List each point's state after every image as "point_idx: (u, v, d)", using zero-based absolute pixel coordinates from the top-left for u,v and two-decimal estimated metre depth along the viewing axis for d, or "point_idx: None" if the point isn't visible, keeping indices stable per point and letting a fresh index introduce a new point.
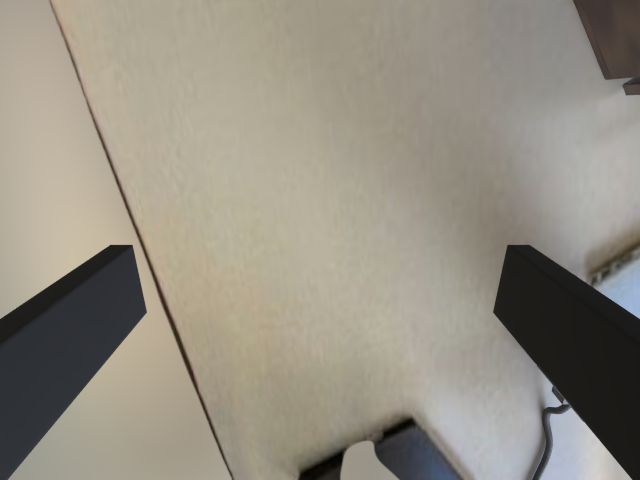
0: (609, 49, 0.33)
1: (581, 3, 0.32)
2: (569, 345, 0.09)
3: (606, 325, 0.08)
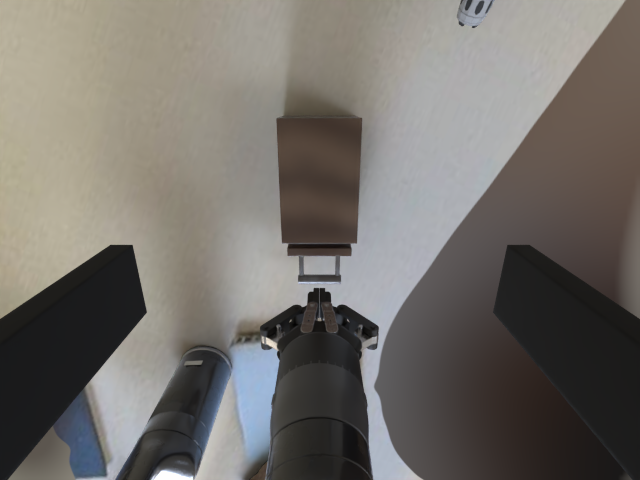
0: None
1: None
2: (569, 345, 0.09)
3: (606, 325, 0.08)
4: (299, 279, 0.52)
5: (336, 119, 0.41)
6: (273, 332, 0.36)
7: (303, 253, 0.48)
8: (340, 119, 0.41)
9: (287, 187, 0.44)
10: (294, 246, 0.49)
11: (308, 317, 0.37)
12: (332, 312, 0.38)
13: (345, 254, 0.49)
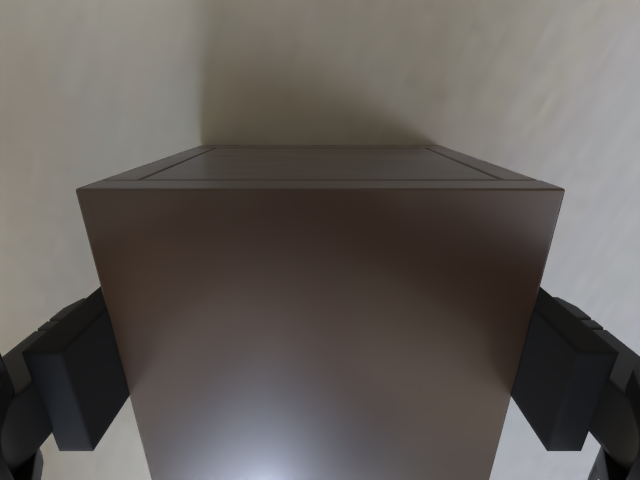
0: None
1: None
2: None
3: None
4: None
5: (417, 195, 0.07)
6: None
7: None
8: (440, 195, 0.07)
9: (181, 468, 0.10)
10: None
11: None
12: None
13: None
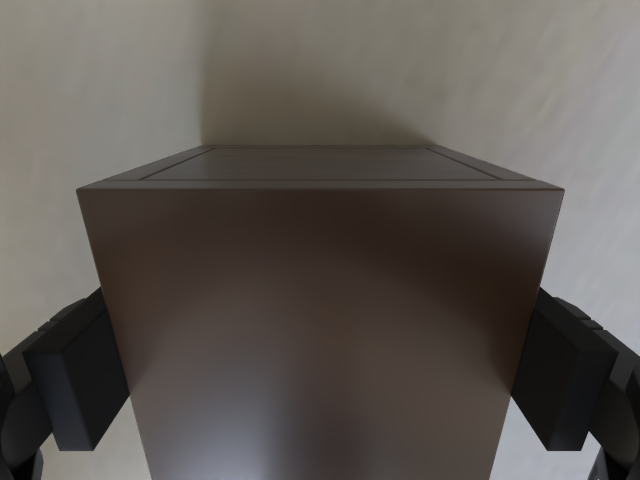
0: None
1: None
2: None
3: None
4: None
5: (417, 195, 0.07)
6: None
7: None
8: (440, 195, 0.07)
9: (181, 468, 0.10)
10: None
11: None
12: None
13: None
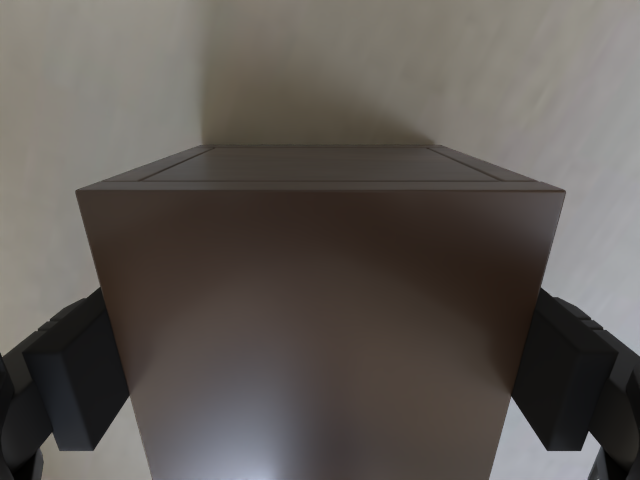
0: None
1: None
2: None
3: None
4: None
5: (418, 196, 0.07)
6: None
7: None
8: (441, 196, 0.07)
9: (182, 468, 0.10)
10: None
11: None
12: None
13: None
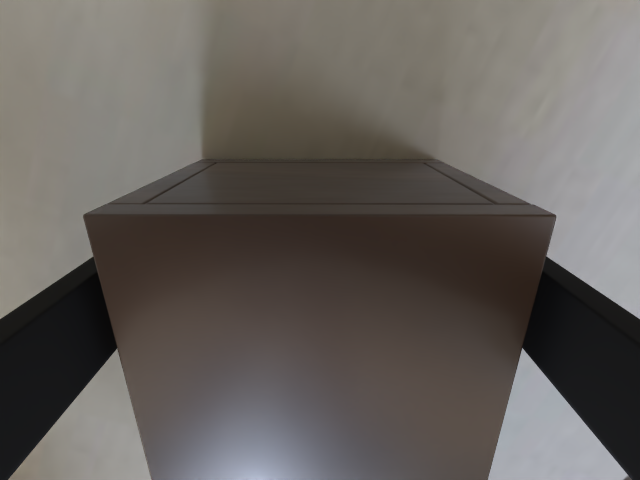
0: None
1: None
2: (569, 345, 0.09)
3: (605, 325, 0.08)
4: None
5: (414, 221, 0.07)
6: None
7: None
8: (436, 221, 0.07)
9: None
10: None
11: None
12: None
13: None
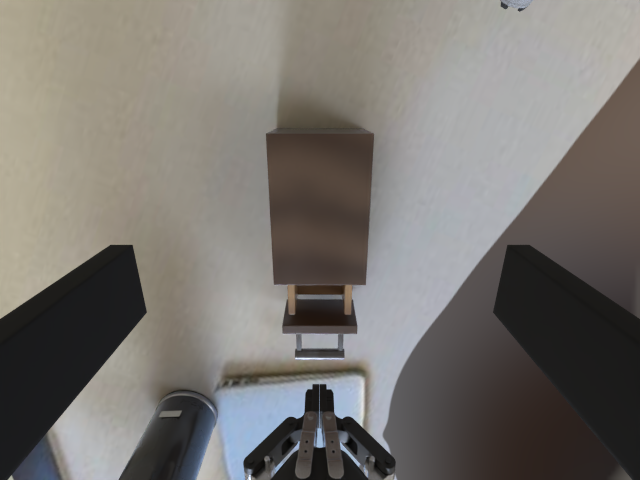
0: None
1: None
2: (569, 345, 0.09)
3: (606, 325, 0.08)
4: (296, 355, 0.45)
5: (341, 135, 0.33)
6: (260, 467, 0.28)
7: (301, 331, 0.42)
8: (346, 135, 0.33)
9: (280, 218, 0.35)
10: (290, 321, 0.42)
11: (305, 445, 0.29)
12: (336, 435, 0.30)
13: (350, 332, 0.42)
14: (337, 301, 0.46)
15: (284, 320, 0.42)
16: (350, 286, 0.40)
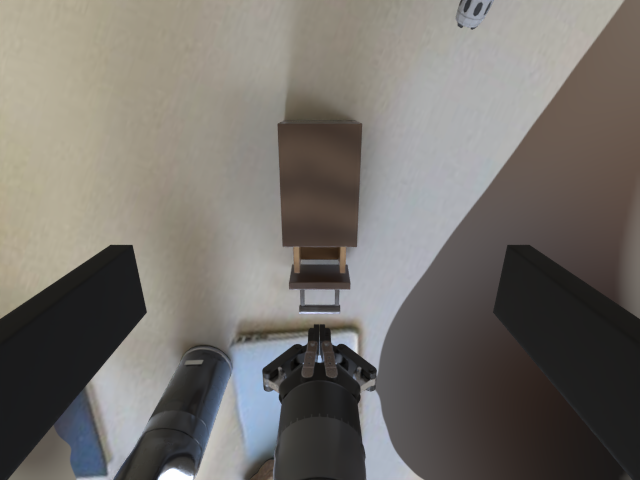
0: None
1: None
2: (569, 345, 0.09)
3: (606, 325, 0.08)
4: (300, 309, 0.54)
5: (336, 124, 0.42)
6: (275, 374, 0.38)
7: (304, 287, 0.51)
8: (340, 124, 0.42)
9: (288, 191, 0.45)
10: (295, 279, 0.51)
11: (309, 359, 0.38)
12: (332, 353, 0.39)
13: (344, 287, 0.51)
14: (334, 265, 0.56)
15: (290, 278, 0.52)
16: (344, 249, 0.49)
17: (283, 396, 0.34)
